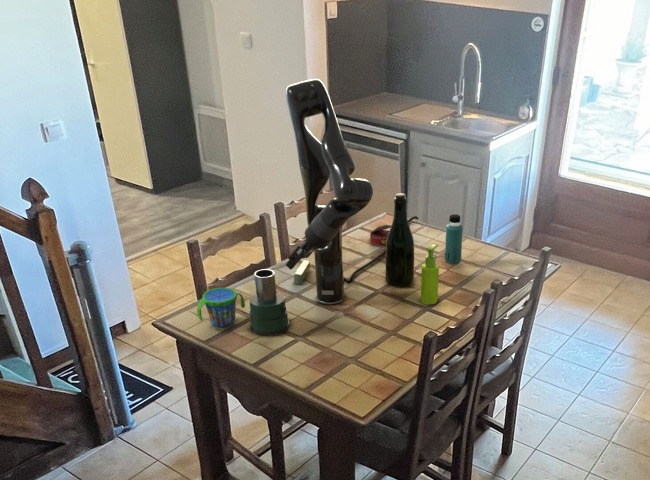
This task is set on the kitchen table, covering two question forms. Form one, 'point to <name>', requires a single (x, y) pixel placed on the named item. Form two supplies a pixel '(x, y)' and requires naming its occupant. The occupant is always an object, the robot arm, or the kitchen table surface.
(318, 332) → the kitchen table surface
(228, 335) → the kitchen table surface
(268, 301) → the tumbler
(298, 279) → the medication box
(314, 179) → the robot arm
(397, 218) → the wine bottle
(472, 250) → the kitchen table surface
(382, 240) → the canned food
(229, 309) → the snack cup
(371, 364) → the kitchen table surface
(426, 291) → the soap dispenser
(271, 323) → the green lidded canister
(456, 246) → the beverage bottle
